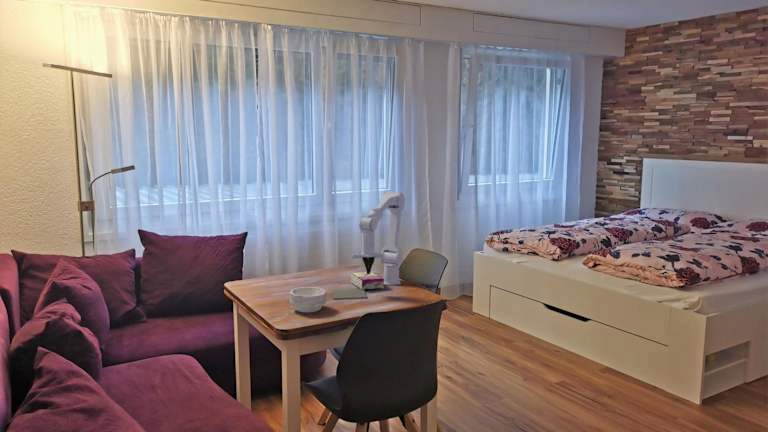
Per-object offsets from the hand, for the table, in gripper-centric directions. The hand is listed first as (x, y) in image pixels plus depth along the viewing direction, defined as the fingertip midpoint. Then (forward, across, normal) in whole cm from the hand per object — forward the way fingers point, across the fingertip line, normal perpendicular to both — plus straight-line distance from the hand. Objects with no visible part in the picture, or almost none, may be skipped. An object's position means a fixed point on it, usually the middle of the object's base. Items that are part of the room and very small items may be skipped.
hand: (368, 273), depth 268 cm
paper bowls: (+10, -27, -20) cm, 35 cm away
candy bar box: (+7, +3, +6) cm, 9 cm away
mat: (+9, -9, 0) cm, 13 cm away
